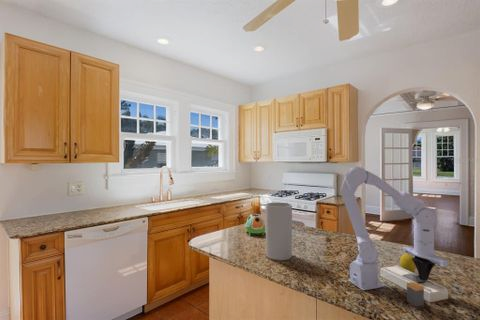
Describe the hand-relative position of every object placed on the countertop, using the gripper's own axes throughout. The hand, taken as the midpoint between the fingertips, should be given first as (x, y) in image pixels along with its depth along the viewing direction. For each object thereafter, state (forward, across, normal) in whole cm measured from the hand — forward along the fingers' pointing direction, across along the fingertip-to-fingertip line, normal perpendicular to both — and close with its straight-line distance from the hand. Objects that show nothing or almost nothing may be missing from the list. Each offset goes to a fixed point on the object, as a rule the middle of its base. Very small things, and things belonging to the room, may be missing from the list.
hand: (423, 279), depth 89 cm
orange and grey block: (+5, -4, +9) cm, 11 cm away
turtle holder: (+5, +87, +32) cm, 93 cm away
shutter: (+1, +4, 0) cm, 4 cm away
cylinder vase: (+5, +46, +34) cm, 57 cm away
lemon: (+5, +14, -9) cm, 17 cm away
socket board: (+5, +5, 0) cm, 7 cm away
